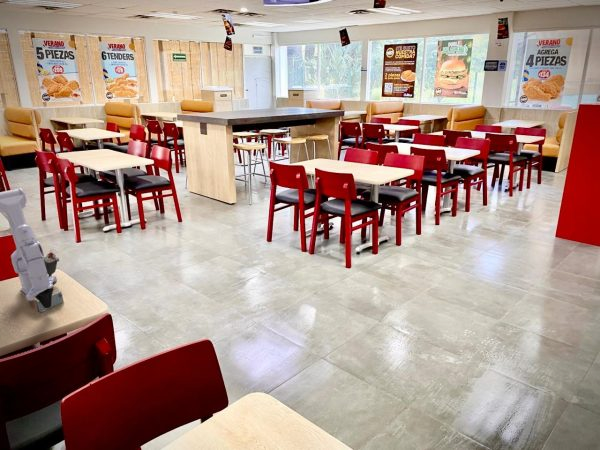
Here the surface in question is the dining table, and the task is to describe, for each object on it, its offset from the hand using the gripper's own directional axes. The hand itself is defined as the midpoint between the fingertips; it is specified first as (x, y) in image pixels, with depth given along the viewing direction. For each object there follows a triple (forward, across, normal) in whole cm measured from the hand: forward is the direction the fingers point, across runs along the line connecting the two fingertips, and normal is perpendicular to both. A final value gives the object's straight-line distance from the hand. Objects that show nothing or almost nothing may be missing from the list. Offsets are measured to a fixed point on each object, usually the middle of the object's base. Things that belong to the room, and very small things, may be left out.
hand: (47, 307), depth 169 cm
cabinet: (+3, +7, +6) cm, 10 cm away
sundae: (+3, +23, +15) cm, 27 cm away
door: (+3, +4, +1) cm, 5 cm away
